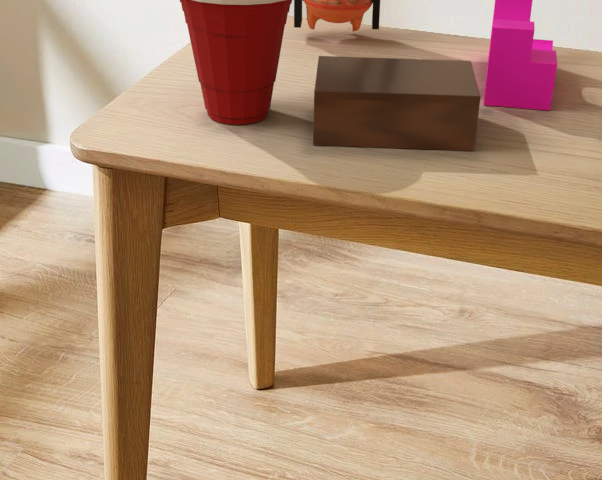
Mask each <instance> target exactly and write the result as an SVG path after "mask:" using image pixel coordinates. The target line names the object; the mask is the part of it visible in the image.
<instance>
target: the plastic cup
mask: <svg viewBox="0 0 602 480" xmlns="http://www.w3.org/2000/svg"><path fill="white" fill-rule="evenodd" d="M179 2H180V5H181V10H182V12H183V16H184V20H185V24H186V25H187V30H188V35H189V40H190V44H191V45H190V46H191V50H192V54H193V61H194V64H195V70H196V74H197V79H198V82H199V83H200V88H201V94H202V98H203V104H204V109H205V110H206V113H207V116H208V117H209V118H210V119H211V120H212V121H215V122H217V123H220V124H225V125H249V124H255V123H258V122H260V121H263V120H264V119H266V118H267V117H268V116H269V112H270V109H271V104H272V99H273V93H274V92H273V91H274V86H275V82H276V80H277V75H278V69H279V61H280V58H281V57H280V56H281V51H282V50H281V49H282V43H283V38H284V33H285V27H286V25H287V20H288V14H289V13H290V9H291V5H292V3H293V0H179Z"/></svg>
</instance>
